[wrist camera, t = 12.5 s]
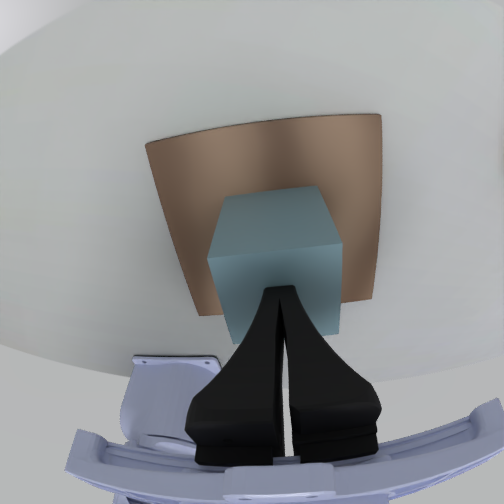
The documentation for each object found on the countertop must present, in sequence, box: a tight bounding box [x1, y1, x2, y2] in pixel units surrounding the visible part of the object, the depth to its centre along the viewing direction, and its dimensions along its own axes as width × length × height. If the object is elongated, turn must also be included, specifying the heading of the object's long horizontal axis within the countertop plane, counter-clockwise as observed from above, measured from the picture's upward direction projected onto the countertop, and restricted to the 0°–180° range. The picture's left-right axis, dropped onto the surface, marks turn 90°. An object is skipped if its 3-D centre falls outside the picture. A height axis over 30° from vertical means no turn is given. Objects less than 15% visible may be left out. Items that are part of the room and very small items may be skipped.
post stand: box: [145, 114, 382, 316], centre depth 17 cm, size 14×14×6 cm
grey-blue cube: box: [207, 186, 343, 344], centre depth 16 cm, size 6×6×7 cm
